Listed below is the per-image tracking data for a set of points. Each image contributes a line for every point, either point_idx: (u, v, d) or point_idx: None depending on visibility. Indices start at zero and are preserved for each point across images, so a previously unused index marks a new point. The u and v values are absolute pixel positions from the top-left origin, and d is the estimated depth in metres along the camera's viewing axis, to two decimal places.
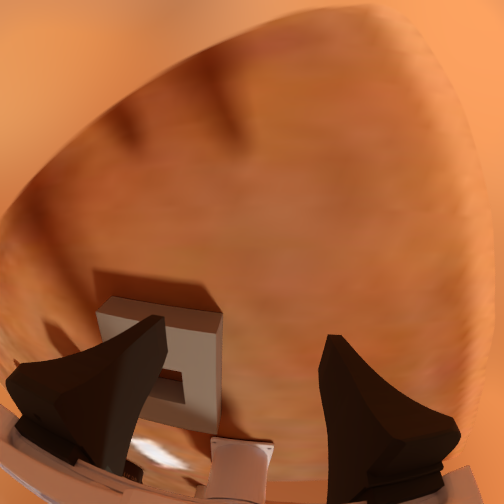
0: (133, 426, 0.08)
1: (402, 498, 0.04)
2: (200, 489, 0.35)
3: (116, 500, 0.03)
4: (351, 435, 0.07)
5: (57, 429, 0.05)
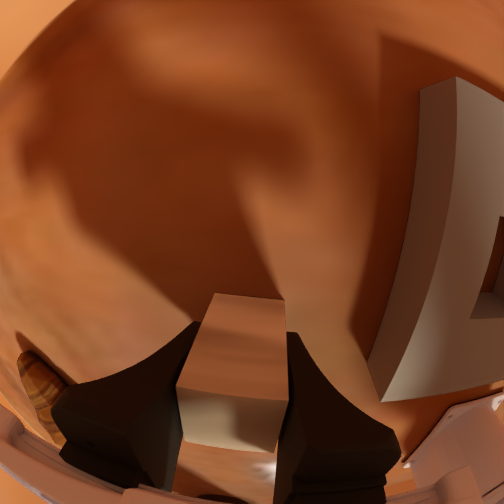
0: (181, 439, 0.08)
1: None
2: None
3: (116, 500, 0.03)
4: (288, 436, 0.07)
5: (118, 456, 0.05)
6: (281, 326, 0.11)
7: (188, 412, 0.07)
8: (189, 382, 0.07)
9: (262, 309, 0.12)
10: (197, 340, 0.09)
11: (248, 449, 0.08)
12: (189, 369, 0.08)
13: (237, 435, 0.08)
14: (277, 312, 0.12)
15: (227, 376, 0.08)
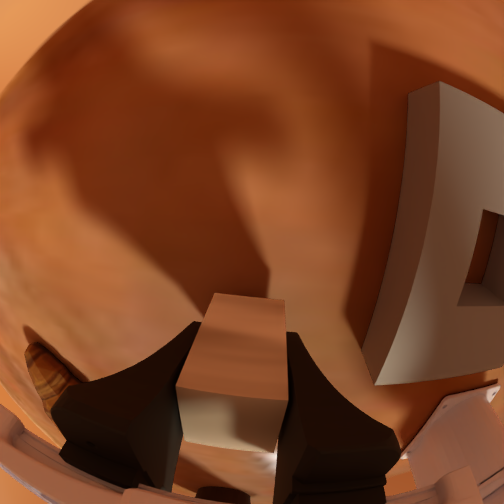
0: (181, 439, 0.08)
1: None
2: None
3: (116, 500, 0.03)
4: (288, 436, 0.07)
5: (118, 456, 0.05)
6: (281, 326, 0.11)
7: (188, 412, 0.07)
8: (189, 382, 0.07)
9: (261, 309, 0.12)
10: (197, 340, 0.09)
11: (248, 449, 0.08)
12: (189, 369, 0.08)
13: (237, 435, 0.08)
14: (277, 312, 0.12)
15: (227, 376, 0.08)
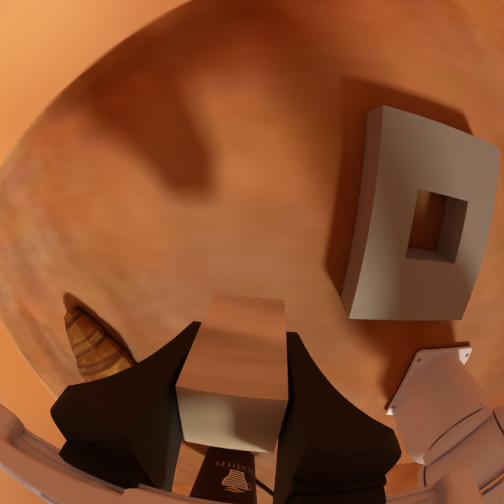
0: (181, 439, 0.08)
1: None
2: None
3: (116, 500, 0.03)
4: (288, 436, 0.07)
5: (118, 456, 0.05)
6: (281, 326, 0.11)
7: (188, 412, 0.07)
8: (189, 382, 0.07)
9: (261, 309, 0.12)
10: (197, 340, 0.09)
11: (248, 449, 0.08)
12: (189, 369, 0.08)
13: (237, 435, 0.08)
14: (277, 312, 0.12)
15: (227, 376, 0.08)
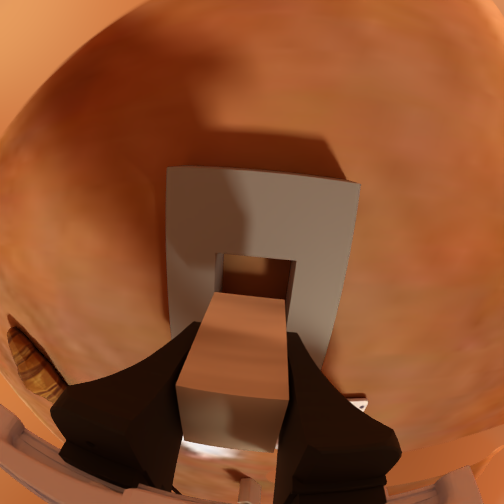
0: (180, 438, 0.08)
1: None
2: (245, 483, 0.29)
3: (116, 500, 0.03)
4: (288, 436, 0.07)
5: (117, 456, 0.05)
6: (281, 325, 0.11)
7: (188, 412, 0.07)
8: (189, 381, 0.07)
9: (262, 308, 0.12)
10: (197, 339, 0.09)
11: (248, 449, 0.08)
12: (189, 369, 0.08)
13: (237, 435, 0.08)
14: (277, 311, 0.11)
15: (227, 375, 0.08)
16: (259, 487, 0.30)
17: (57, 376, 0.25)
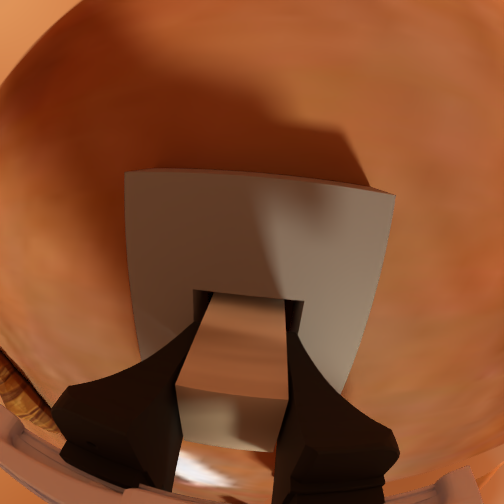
0: (181, 439, 0.08)
1: None
2: None
3: (116, 500, 0.03)
4: (286, 436, 0.07)
5: (118, 456, 0.05)
6: (281, 325, 0.11)
7: (187, 411, 0.07)
8: (189, 381, 0.07)
9: (262, 308, 0.12)
10: (197, 339, 0.09)
11: (248, 449, 0.08)
12: (189, 368, 0.08)
13: (236, 434, 0.08)
14: (277, 311, 0.11)
15: (226, 375, 0.08)
16: None
17: (38, 398, 0.21)
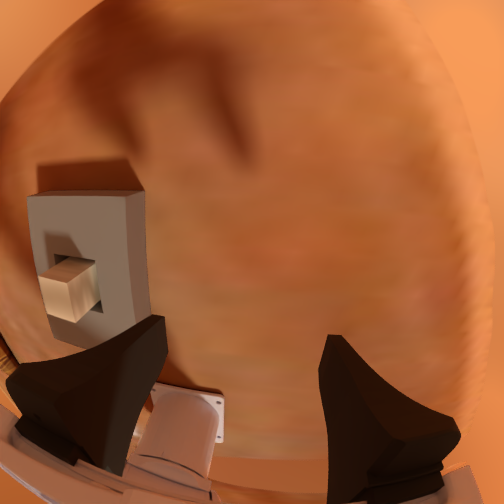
0: (133, 426, 0.08)
1: (402, 498, 0.04)
2: None
3: (116, 500, 0.03)
4: (351, 435, 0.07)
5: (57, 429, 0.05)
6: (93, 262, 0.19)
7: (43, 291, 0.16)
8: (43, 275, 0.16)
9: None
10: (57, 264, 0.18)
11: (67, 319, 0.17)
12: (46, 272, 0.16)
13: (60, 307, 0.16)
14: None
15: (55, 275, 0.16)
16: None
17: (8, 350, 0.28)
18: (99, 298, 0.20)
